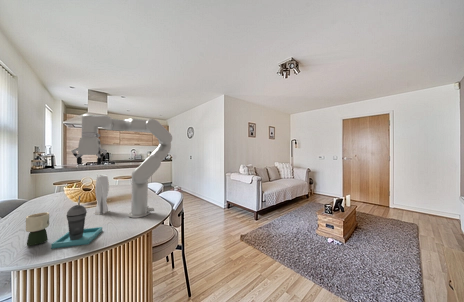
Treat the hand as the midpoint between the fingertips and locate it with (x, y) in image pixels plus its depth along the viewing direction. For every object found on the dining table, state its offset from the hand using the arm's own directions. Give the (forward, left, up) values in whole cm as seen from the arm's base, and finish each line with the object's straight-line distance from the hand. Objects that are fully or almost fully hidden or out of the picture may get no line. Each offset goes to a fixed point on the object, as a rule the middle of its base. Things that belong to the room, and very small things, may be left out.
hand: (89, 164), depth 102 cm
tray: (-6, +22, -34) cm, 41 cm away
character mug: (+10, +22, -34) cm, 42 cm away
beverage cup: (-5, +22, -34) cm, 41 cm away
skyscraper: (0, -17, -35) cm, 39 cm away
